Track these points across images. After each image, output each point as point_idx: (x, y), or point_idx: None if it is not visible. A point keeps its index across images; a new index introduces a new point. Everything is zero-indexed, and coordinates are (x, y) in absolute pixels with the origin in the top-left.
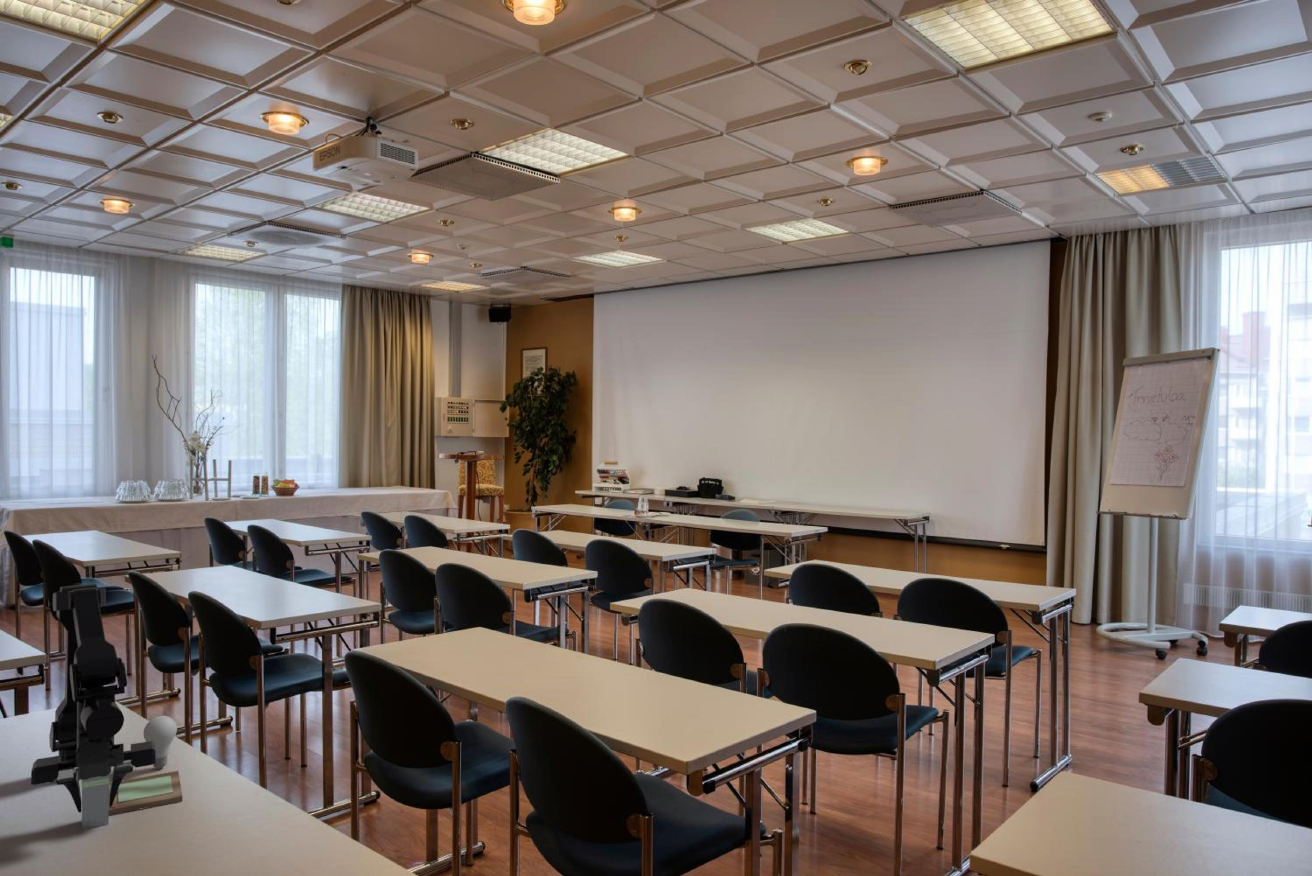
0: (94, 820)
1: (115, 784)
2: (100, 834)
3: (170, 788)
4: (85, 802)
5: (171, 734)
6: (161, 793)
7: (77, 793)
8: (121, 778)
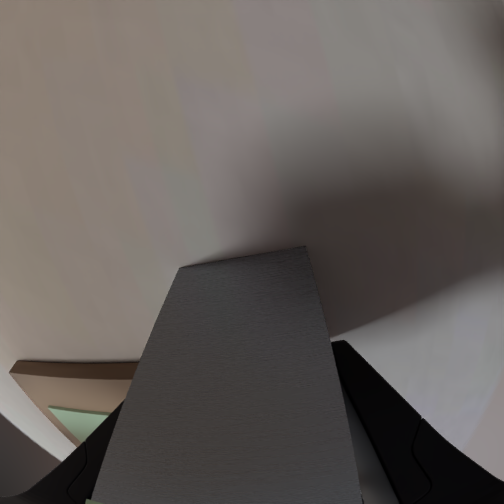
0: (241, 278)
1: (82, 476)
2: (180, 146)
3: (69, 429)
4: (306, 370)
5: None
6: (74, 415)
7: (391, 453)
8: (29, 496)
